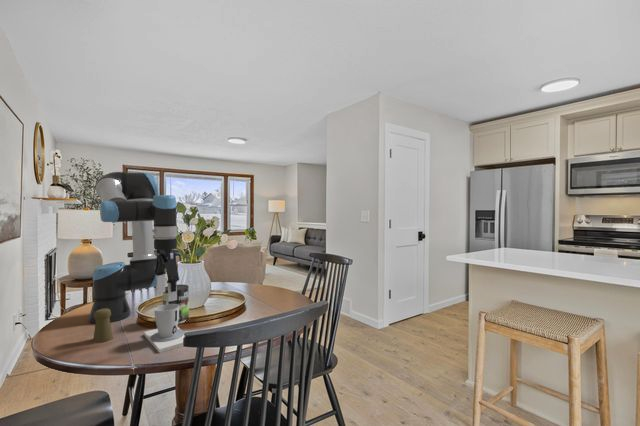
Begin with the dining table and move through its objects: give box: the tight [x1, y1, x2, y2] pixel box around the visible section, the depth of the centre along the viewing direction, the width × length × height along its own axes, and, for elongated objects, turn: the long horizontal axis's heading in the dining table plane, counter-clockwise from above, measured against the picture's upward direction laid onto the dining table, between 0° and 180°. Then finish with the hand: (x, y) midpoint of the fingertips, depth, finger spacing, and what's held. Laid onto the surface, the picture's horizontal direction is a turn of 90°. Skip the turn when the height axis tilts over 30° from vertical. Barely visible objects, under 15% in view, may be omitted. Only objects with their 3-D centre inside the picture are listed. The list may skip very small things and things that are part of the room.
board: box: [143, 326, 186, 353], centre depth 116 cm, size 20×11×2 cm, turn 42°
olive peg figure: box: [92, 309, 114, 344], centre depth 116 cm, size 6×6×11 cm
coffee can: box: [161, 284, 190, 325], centre depth 135 cm, size 10×10×14 cm
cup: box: [153, 304, 179, 338], centre depth 116 cm, size 8×8×10 cm
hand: (166, 296), depth 116 cm, fingers open, 13 cm apart
